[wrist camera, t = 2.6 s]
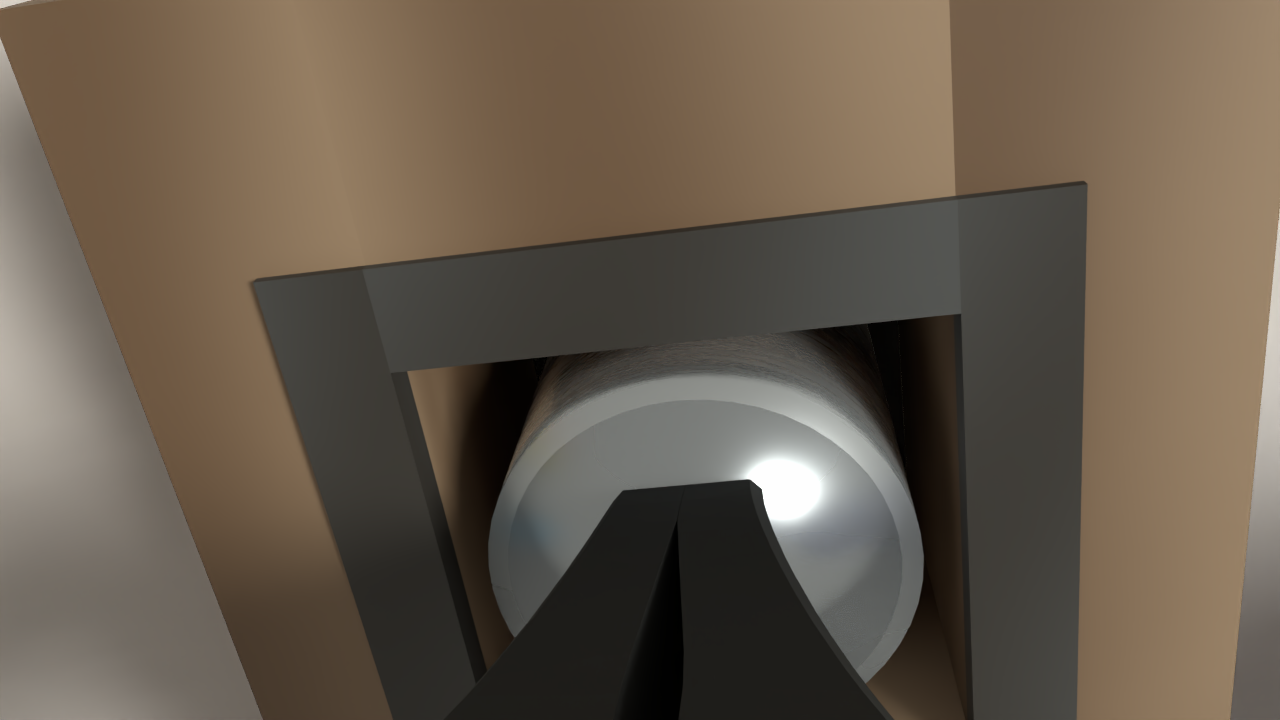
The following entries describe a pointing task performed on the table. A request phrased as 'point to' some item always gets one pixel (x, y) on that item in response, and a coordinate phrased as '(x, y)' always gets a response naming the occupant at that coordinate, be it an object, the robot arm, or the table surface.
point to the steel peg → (724, 468)
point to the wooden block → (687, 298)
